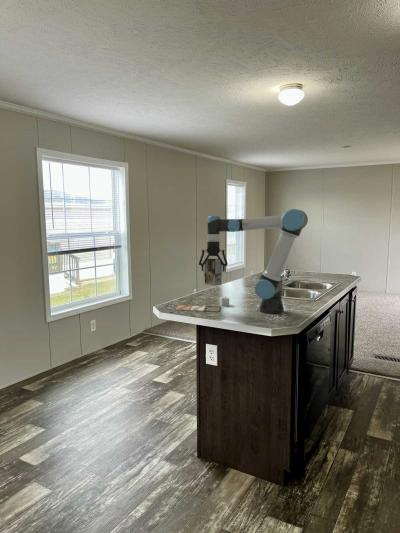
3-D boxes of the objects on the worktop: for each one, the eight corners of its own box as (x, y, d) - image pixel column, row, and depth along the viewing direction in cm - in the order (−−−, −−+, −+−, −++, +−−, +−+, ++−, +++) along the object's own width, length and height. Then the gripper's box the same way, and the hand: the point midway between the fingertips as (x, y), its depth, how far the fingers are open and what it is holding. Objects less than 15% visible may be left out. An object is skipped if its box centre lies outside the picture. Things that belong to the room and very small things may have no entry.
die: (226, 304, 259) (227, 296, 258) (229, 305, 254) (229, 297, 253) (219, 304, 258) (219, 296, 257) (221, 306, 253) (222, 298, 252)
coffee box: (221, 284, 240) (222, 259, 238) (215, 286, 235) (215, 259, 234) (210, 283, 246) (211, 258, 245) (204, 284, 242) (204, 258, 240)
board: (220, 307, 249) (220, 306, 249) (219, 312, 235) (219, 311, 235) (177, 305, 252) (177, 304, 252) (173, 310, 239) (173, 309, 238)
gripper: (232, 241, 240) (231, 276, 243) (195, 240, 243) (195, 275, 245) (232, 241, 233) (231, 277, 235) (194, 241, 236) (193, 276, 238)
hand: (213, 276), depth 240 cm, fingers closed on coffee box, 11 cm apart
